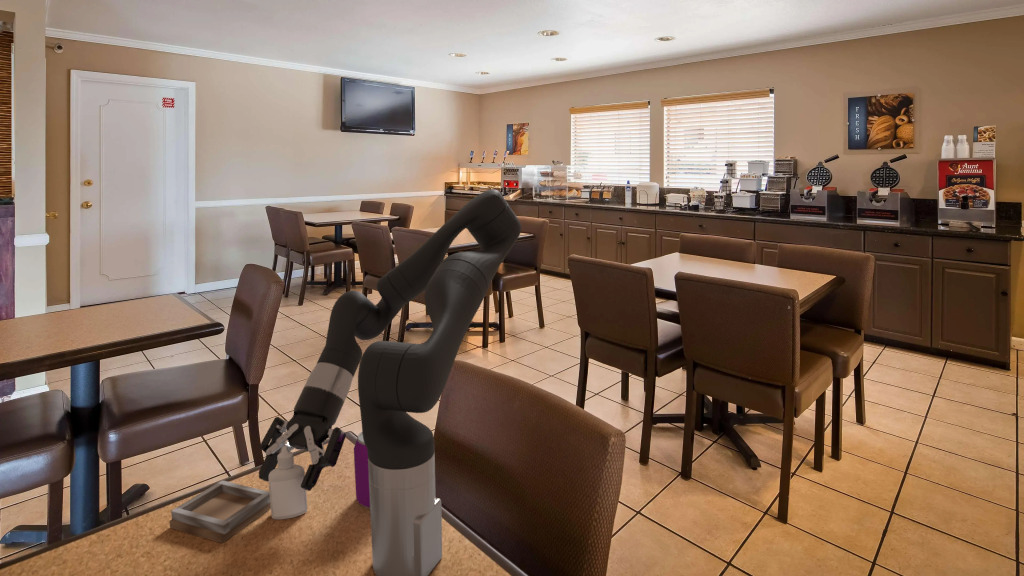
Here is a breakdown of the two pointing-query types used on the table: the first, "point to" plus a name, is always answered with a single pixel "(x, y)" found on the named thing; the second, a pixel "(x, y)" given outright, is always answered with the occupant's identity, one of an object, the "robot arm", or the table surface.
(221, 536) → the grey square tray
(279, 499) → the eye dropper bottle
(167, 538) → the table surface
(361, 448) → the beverage can
